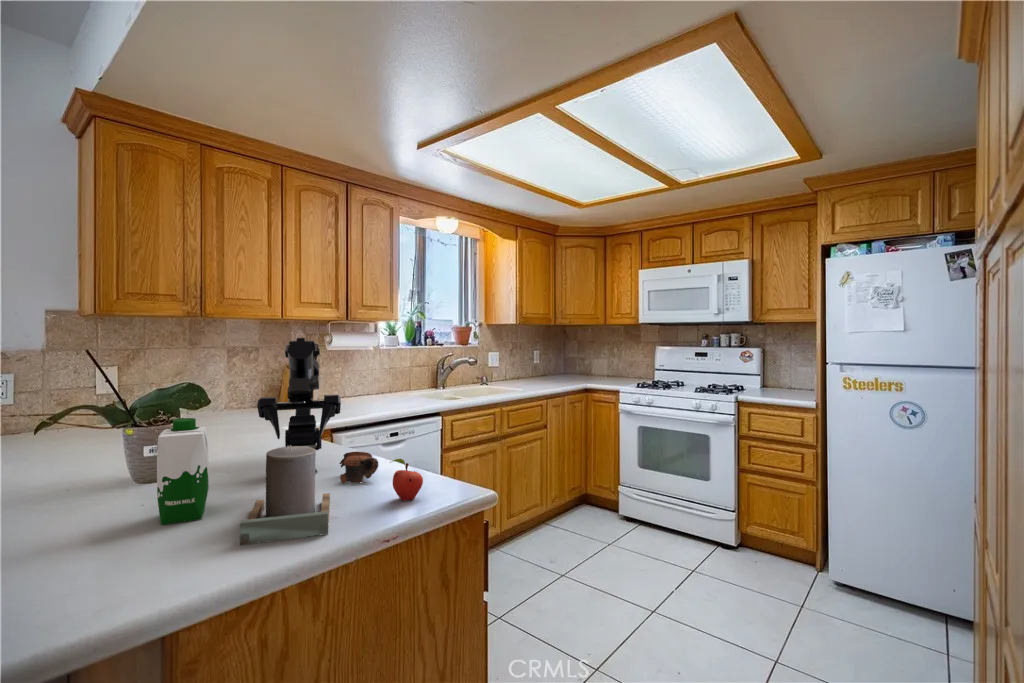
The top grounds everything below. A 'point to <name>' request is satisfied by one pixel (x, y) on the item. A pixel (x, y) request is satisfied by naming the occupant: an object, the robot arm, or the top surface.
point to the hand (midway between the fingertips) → (299, 437)
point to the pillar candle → (290, 481)
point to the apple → (406, 482)
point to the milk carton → (182, 472)
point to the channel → (283, 524)
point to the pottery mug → (358, 466)
